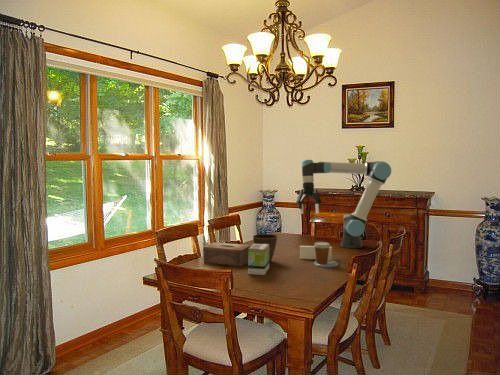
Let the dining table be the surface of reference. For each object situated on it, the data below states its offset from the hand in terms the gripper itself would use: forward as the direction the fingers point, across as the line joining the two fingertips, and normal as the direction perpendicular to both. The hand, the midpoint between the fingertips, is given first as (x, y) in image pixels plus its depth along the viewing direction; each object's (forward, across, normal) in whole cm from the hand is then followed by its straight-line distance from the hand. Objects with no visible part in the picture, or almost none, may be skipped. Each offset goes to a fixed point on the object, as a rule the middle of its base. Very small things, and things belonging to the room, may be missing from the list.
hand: (309, 213), depth 291 cm
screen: (+29, +9, +15) cm, 34 cm away
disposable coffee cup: (+31, +14, +27) cm, 43 cm away
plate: (+31, +12, +28) cm, 44 cm away
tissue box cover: (+29, +59, -11) cm, 66 cm away
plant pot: (+29, +39, +2) cm, 49 cm away
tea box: (+33, +54, +19) cm, 66 cm away
